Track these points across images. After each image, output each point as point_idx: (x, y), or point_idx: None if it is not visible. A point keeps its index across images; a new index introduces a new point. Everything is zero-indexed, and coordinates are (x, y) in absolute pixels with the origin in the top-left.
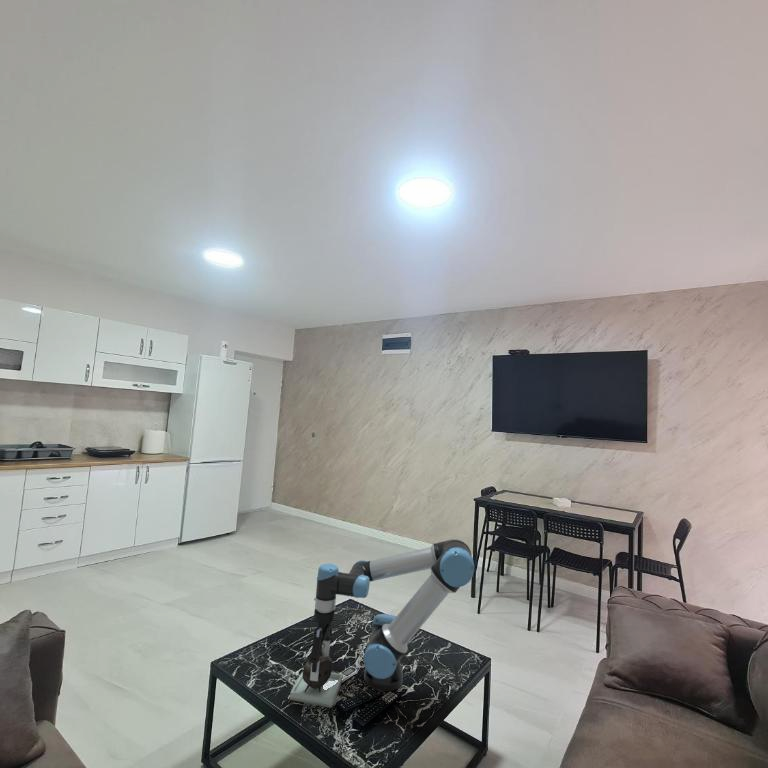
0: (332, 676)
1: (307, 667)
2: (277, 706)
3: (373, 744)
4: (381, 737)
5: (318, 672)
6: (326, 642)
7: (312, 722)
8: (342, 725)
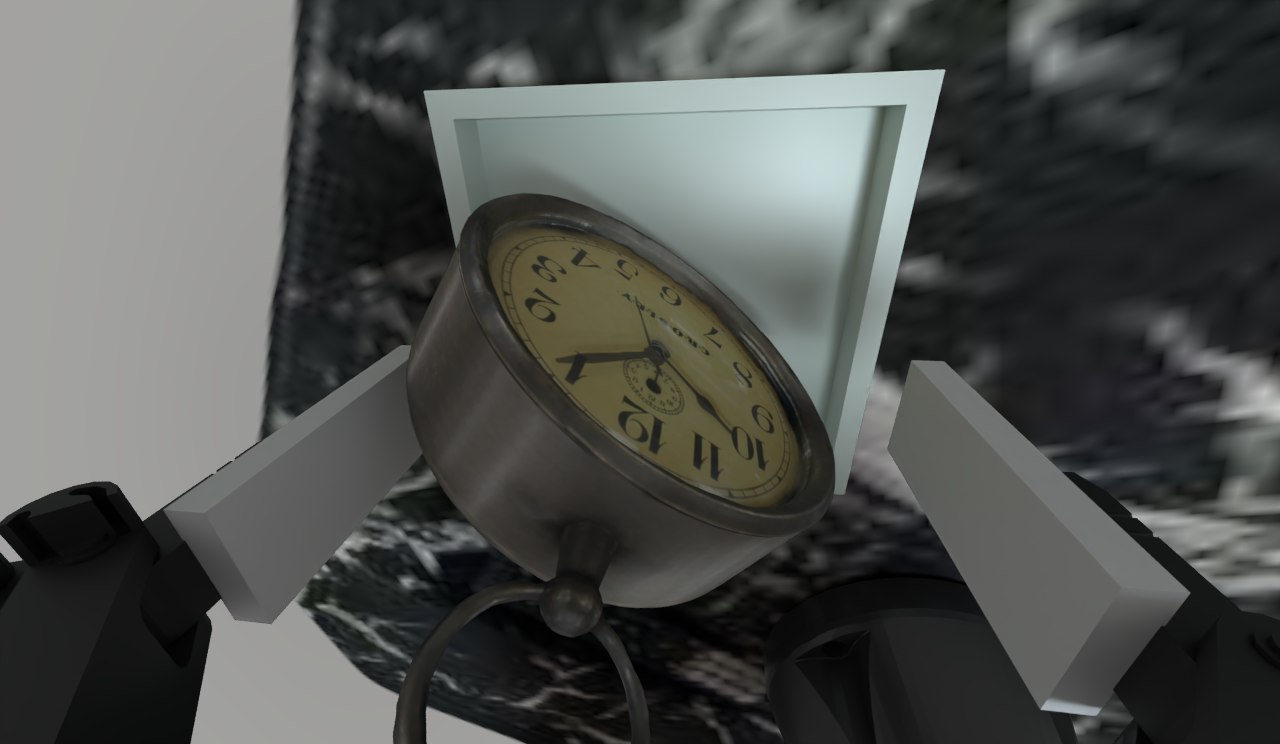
0: (835, 405)
1: (436, 302)
2: (328, 8)
3: (392, 624)
4: None
5: (385, 484)
6: (1057, 635)
7: (349, 362)
8: (422, 512)
